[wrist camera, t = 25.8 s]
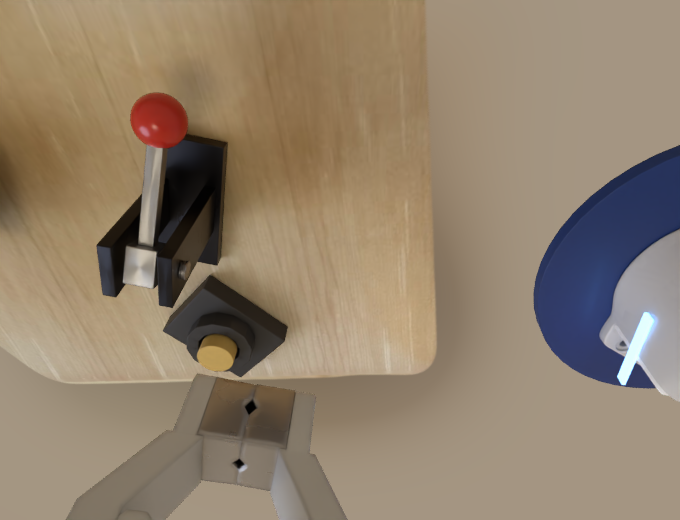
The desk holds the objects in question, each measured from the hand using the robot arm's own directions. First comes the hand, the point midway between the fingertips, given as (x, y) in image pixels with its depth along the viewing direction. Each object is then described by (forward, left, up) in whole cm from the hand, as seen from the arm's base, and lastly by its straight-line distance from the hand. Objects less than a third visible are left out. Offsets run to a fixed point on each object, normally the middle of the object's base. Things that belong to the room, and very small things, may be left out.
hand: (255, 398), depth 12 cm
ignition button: (-8, +26, -26) cm, 37 cm away
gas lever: (+5, +12, -22) cm, 26 cm away
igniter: (-8, +26, -29) cm, 40 cm away
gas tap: (+3, +16, -29) cm, 33 cm away
